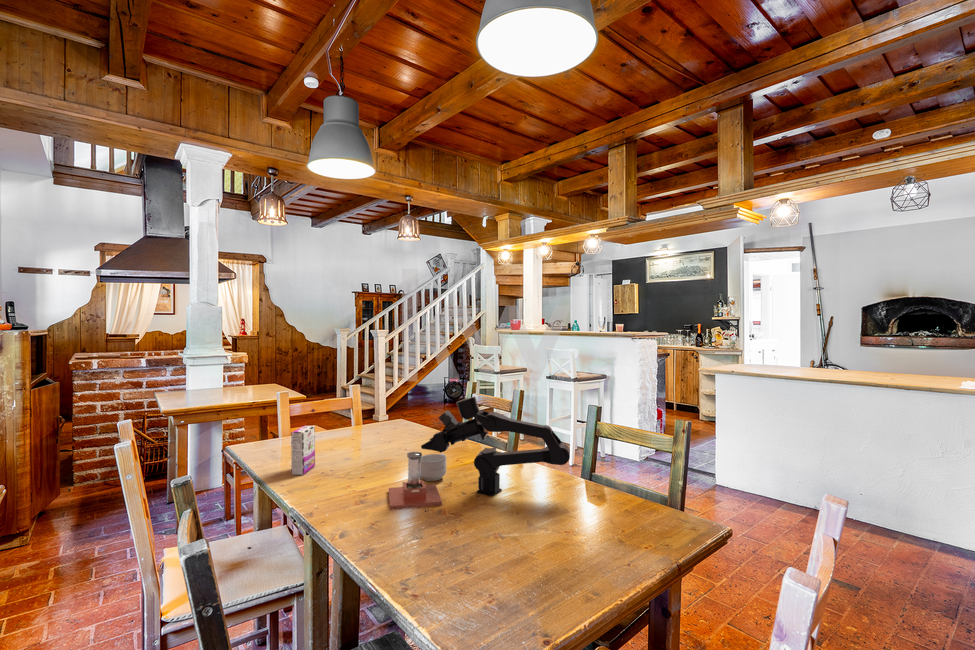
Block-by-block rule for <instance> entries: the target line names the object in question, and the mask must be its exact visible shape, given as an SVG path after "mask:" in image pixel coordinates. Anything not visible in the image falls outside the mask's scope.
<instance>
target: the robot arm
mask: <svg viewBox="0 0 975 650" xmlns="http://www.w3.org/2000/svg"><path fill="white" fill-rule="evenodd" d="M456 407H457V409H458V411H459V414H460V417H461V418H462V419H463V420H465V421H457V419H456V418H455V416H454V415H453V414H452V413H451V411H450V410H449V409H448V410H445V411H444V412H443V413H442V414H441V415H439V416H438V420H439V421H441V422H442V424H443V425H444V427H443V430H441V431H438V432H435V433H434V434H433V436H432V437H431V438H429V441H427V442H425V443H423V444H421V445H420V448H421V449H422V450H429V451H435V452H438V453H439V454H441V453H443V452H446V451H447V450H448V449H449V447H450V446H453V445H455V444H457V443H459V442H465V441H466V440H468V439H471V438H473V437H474V438H475V437H476V436H479V435H480V438H481V440H483V441H484V440H485V439H486V438H487V435H488V433H489V432H490V433H502V432H511V433H515V434H521V435H525V436H530V437H536V438H541V439H542V441H543V442H544V444H545V447H543V448H536V449H522V450H514V451H512V450H511V451H498V450H497V447H496V446H495V447H490V448H489V447H484V449H482V450H480V451H479V453H477V454H476V457H475V458H474V461H473V466H474V467H475V469H476V470H477V471H478V475H479V476H478V477H477V478H478V479H477V481H478V485H477V487H478V488H477V490H476V493H477V494H482V495H487V496H491V497H494V496H496V495H498V493H500V492H502V490H503V489H502V488H500V481H501V479H500V477H501V475H500V473H499V472H498V471H499V469H500V467H502V466H512V465H513V466H515V465H525V464H535V463H545V464H550V465H555V466H557V465H558V466H564V465H566V464H567V463H569V461H570V458H571V456H570V454H571V450H570V447H569V446H568V445H567V444H566V443H565V442H563V441H562V440H561V439H560V437H558V435H557V434H556V433H555V432H554V430H553V429H552V427H551V426H549V425H547V424H540V423H539V424H537V423H533V422H528V421H523V420H520V419H519V420H518V419H513V418H510V417H508V416H506V415H505V414H502V413H500V412H497V411H490V412H489V411H486V410H483V409H480V407H479V405H478V402H477V398H476V396H472V397H466V398H463V399H461V400H458V401H456ZM466 420H467V421H466Z"/></svg>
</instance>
